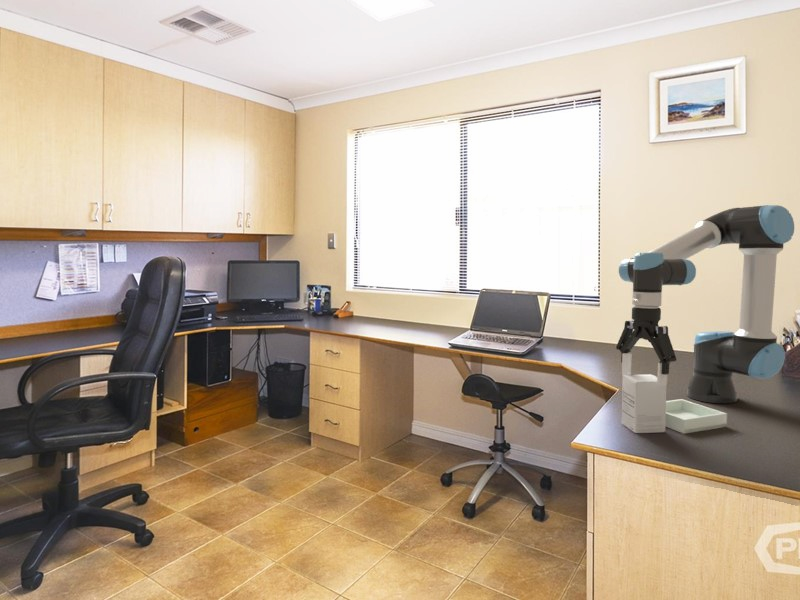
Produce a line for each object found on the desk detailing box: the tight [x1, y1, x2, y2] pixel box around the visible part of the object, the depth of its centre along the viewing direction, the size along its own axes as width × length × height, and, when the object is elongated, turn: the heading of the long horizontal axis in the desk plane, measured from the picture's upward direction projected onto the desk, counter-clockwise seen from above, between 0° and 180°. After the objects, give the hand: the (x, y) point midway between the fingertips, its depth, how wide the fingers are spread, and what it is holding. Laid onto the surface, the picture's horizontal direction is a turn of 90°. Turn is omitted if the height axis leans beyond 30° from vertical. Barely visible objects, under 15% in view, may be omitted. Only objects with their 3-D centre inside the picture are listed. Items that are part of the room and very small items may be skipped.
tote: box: [665, 398, 728, 434], centre depth 160 cm, size 16×16×4 cm
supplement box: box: [621, 373, 667, 434], centre depth 154 cm, size 9×9×15 cm
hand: (643, 379), depth 154 cm, fingers open, 13 cm apart
